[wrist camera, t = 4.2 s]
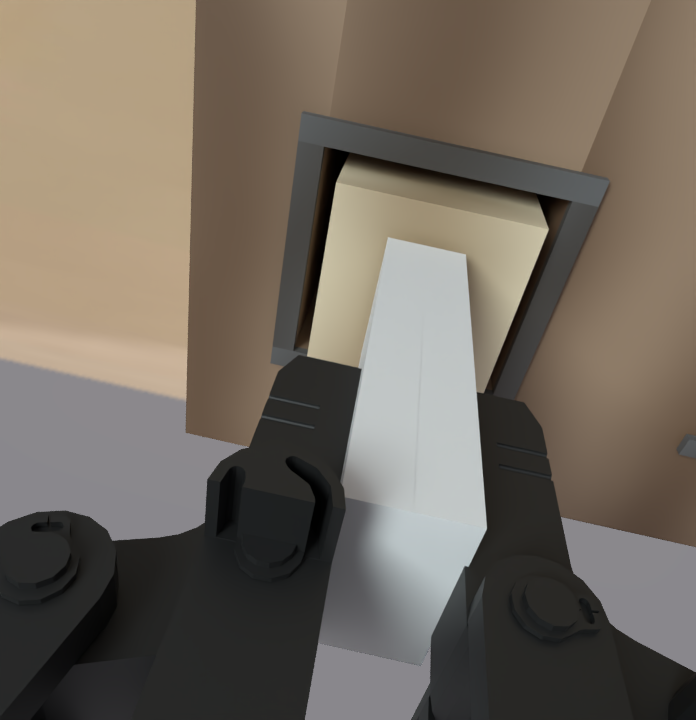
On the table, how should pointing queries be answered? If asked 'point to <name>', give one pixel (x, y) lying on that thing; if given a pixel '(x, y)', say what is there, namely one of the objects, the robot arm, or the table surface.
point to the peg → (430, 228)
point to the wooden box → (479, 162)
